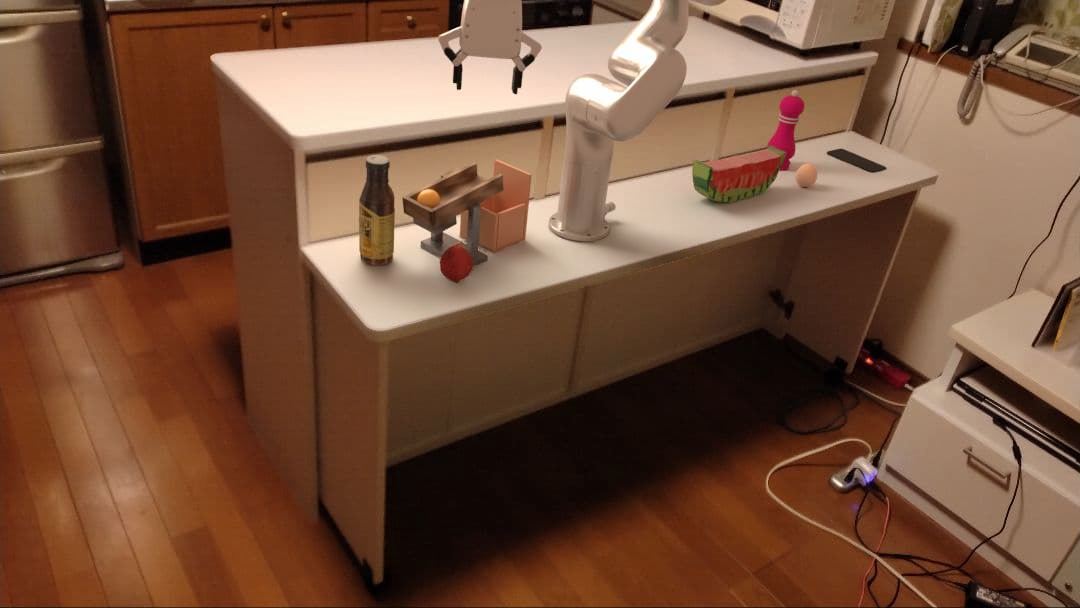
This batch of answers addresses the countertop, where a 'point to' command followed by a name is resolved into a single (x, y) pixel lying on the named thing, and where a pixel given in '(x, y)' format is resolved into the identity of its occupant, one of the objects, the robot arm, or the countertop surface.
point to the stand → (444, 241)
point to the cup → (503, 211)
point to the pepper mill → (787, 126)
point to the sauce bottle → (376, 214)
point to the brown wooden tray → (451, 197)
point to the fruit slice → (737, 175)
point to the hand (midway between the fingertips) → (486, 89)
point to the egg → (806, 175)
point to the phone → (856, 160)
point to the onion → (456, 263)
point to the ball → (429, 198)
